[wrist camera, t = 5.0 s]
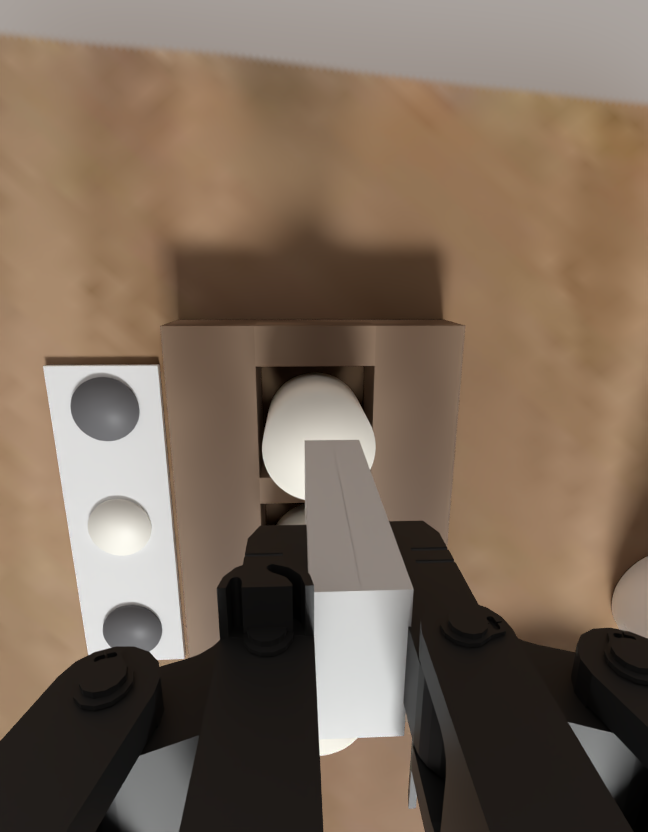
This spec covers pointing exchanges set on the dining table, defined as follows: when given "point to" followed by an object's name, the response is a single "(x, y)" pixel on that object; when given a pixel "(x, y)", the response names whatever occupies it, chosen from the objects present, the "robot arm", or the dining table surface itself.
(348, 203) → the dining table surface
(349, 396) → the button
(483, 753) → the robot arm
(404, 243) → the dining table surface
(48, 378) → the card
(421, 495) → the board
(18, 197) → the dining table surface
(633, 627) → the figurine
